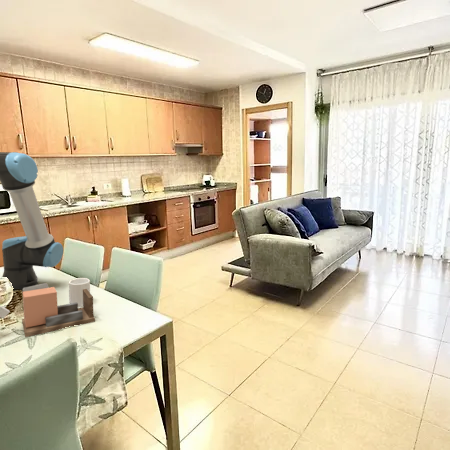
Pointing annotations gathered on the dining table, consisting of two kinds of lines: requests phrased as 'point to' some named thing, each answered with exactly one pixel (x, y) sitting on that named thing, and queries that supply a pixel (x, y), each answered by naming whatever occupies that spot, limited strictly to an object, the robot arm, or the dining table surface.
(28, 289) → the electrical switch
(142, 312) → the dining table surface
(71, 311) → the wooden block holder
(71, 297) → the mug
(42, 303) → the pink block
